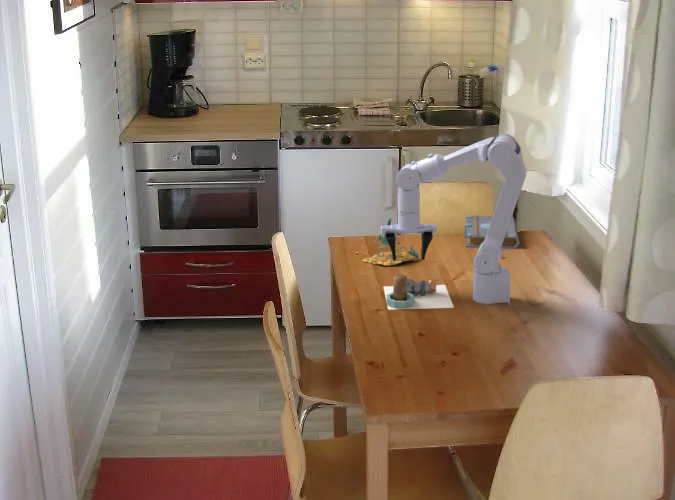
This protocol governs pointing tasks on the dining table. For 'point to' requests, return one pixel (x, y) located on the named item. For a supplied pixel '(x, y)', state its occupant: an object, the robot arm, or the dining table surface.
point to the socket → (400, 304)
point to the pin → (400, 288)
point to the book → (479, 227)
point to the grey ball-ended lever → (416, 286)
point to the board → (426, 298)
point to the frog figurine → (387, 257)
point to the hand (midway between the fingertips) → (408, 259)
